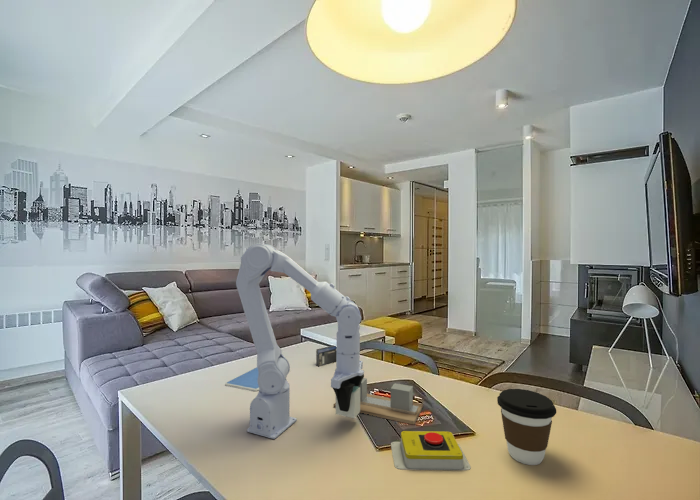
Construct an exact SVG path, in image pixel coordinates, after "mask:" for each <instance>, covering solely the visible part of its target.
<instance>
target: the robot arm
mask: <svg viewBox="0 0 700 500" xmlns="http://www.w3.org/2000/svg"><path fill="white" fill-rule="evenodd" d="M239 265H240V266H239V269H238V273H237V276H236V280H235V287H236V289H237V293H238V296H239V298H240V301H241V306H242V308H243V309H242V310H243V312H244V316H245V319H246V322H247V325H248V328H249V332H250V334H251V338H252V341H253V345H254V348H255V350H256V351H255V352H256V355H257V357H256V367H257V368H258V373H259V374H258V386H259V390H258V391H257V395H256V396H255V398H253V399H252V400H251V402H250V404H249V427H248V428H247V429H246V431H247V432H248V433H251V434H255V435H258V436H262V437H266V438H269V439H273V440H274V439H277V437H279V436H280V435H281V434H282V433H283V432H285V431H286V430H287V429H288V428H290V427H291V426H292V425H293V424H294V423H296V422H297V421H298V418H297V417H294V416H290V412H291V411H290V403H291V402H290V400H291V399H290V391H291V390H290V383H289V382H288V379H287V377H288V374H289V373H290V372H289V370H290V371H291V364H290V362H289V360H288V359H287V358H286V356H284V353H283V352H282V349H281V347H280V346H279V345H278V343H277V340H276V336H275V334H274V330H273V327H272V323H271V319H270V316H269V314H268V309H267V306H266V303H265V301H264V297H263V294H262V291H261V286H260V283H261V282H262V280H263V279H264V277H265V276H266V274H267V272H269V271H270V272H275V273H276V272H277V273H282V274H284V275H286V276H288V277H289V278H290V279H292V280H293V281H295V282H296V283H297V284H298V285H300V286H301V287H303V288H304V289H305V290H307V291H308V292H309V293H310V300H311V301H312V302H313V303H315V305H317V306H318V307H320V308H321V309H322V310H323V311H325V313H327V314H328V315H330V316H331V317H335V319H336V322H337V331H336V362H335V363H336V365H335V366H336V368H335V370H334V374H333V376H332V378H331V379H330V387H331V388H332V389H333V391H334V394H335V398H336V397H337V400H338V405H339V409H340V410H341V411H346V412H348V410H349V407H350V399H351V394H352V390H353V388H354V386H358V387H360V384H361V382H362V380H363V378H365V370H363V368H364V367H363V363H364V361H363V360H361V359H360V356H361V355H360V354H361V353H360V352H361V333H360V327H361V326H360V323H361V322H362V316H361V312H360V309H359V307H358V305H357V304H356V303H355V302H354V301H353V300H351V298H350V297H349V296H348V295H344V294H343V293H341V292H340V291H339V290H338V289H336V288H335V287H336V286H335V284H334V283H333V282H330V283H329V282H328V281H318V280H317V279H315V278H314V277H313V276H312V275H311V274H310V273H309V272H307V271H306V270H305V269H304V268H303V267H302V266H300V265H299V264H298V263H297V262H296V261H295V260H294V259H292V258H291V257H290V256H288V255H287V254H286V253H284V252H282V251H281V250H278V249H276V247H274V246H273V245H271V244H268V243H263V244H262V243H253V244H252V245H250V246H249V247H248V248H247V249H246V250H245V252H244V253H243V254H242V255H241V257H240V264H239Z"/></svg>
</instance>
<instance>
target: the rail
mask: <svg viewBox="0 0 700 500" xmlns="http://www.w3.org/2000/svg"><path fill="white" fill-rule="evenodd" d="M360 404H363V405H368V406H373V407H378V408H383V409H388V410H393V411H398V412H403V413H408V414H413V415H416V413H417V411H418V406H414V405H413V406H412V408H411V409H410V411H406V410H401V409H396V408H391V401H388V400H382V399H377V398H372V397H366V398H365V399H364V400H363V401H362V402H361V401H360Z"/></svg>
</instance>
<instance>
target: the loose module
mask: <svg viewBox="0 0 700 500" xmlns="http://www.w3.org/2000/svg"><path fill="white" fill-rule="evenodd" d="M335 403H336V408H335V415H338V416H343V417H345V418H352V419H355V418H357V416H358V415H359V414H361V413H360V387H358V386H354V388H353V390H352V394H351V399H350V407H349V410H348V412H346V411H341V410H340V409H339V405H338V400H337V397H336V396H335Z"/></svg>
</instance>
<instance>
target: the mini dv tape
mask: <svg viewBox="0 0 700 500" xmlns="http://www.w3.org/2000/svg"><path fill="white" fill-rule="evenodd" d="M336 351H337V345H335V344H334V345H329V346H325V347H322V348H317V349H316V351H315V356H316V357H315V359H316V364H315V365H316V366H317V367H319V368H320V367H324V366H327V365H329V364H330V365H331V364H334V363H336Z"/></svg>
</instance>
